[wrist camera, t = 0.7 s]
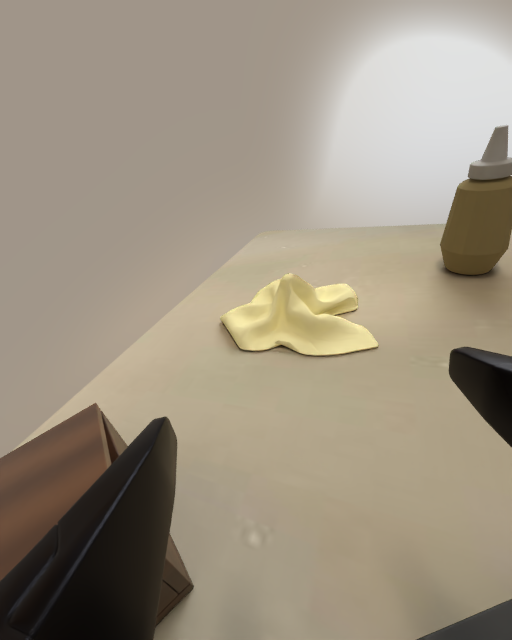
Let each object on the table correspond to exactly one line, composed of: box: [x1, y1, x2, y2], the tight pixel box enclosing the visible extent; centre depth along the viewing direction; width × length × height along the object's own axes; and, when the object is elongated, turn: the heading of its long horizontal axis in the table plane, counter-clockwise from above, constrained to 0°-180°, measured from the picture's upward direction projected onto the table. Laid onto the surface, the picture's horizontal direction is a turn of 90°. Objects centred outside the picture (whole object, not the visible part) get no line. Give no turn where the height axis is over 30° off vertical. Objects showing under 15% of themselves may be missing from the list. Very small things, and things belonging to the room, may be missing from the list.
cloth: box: [220, 273, 378, 356], centre depth 39 cm, size 22×19×6 cm
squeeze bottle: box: [440, 125, 512, 275], centre depth 38 cm, size 8×8×18 cm
